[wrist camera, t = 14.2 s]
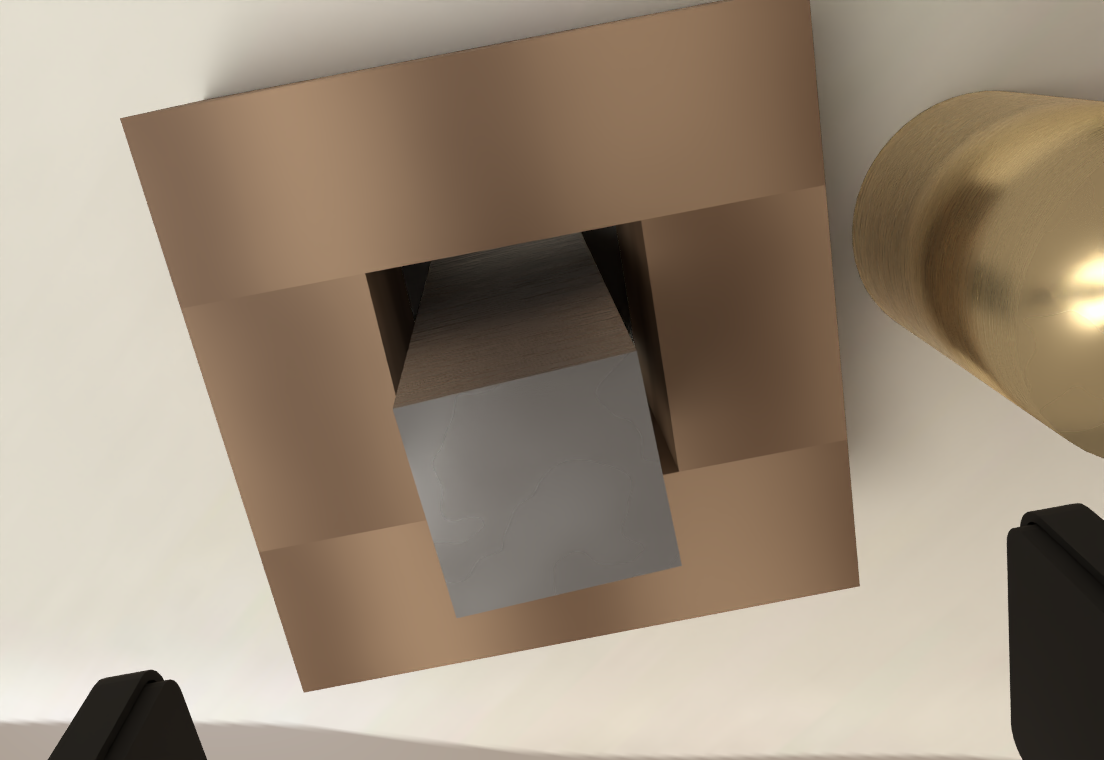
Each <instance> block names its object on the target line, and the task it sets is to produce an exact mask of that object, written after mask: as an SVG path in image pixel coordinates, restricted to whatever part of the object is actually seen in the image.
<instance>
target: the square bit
mask: <svg viewBox="0 0 1104 760" xmlns="http://www.w3.org/2000/svg"><path fill="white" fill-rule="evenodd" d="M393 412H394V415H395V419H396V422H397V425H398V429H399V432H400V435H401V438H402V442H403V445H404V448H405V451H406V455H407V458H408V461H409V464H410V468H411V471H412V474H413V478H414V481H415V484H416V487H417V491H418V494H419V497H420V500H421V504H422V507H423V510H424V513H425V517H426V520H427V523H428V526H429V530H430V533H431V536H432V540H433V543H434V546H435V549H436V553H437V556H438V559H439V562H440V566H441V569H442V572H443V575H444V579H445V582H446V585H447V589H448V592H449V595H450V598H451V602H452V605H453V608H454V611H455V615H456V618H461V617H465V616H469V615H473V614H478V613H482V612H486V611H491V610H495V609H499V608H503V607H508V606H512V605H516V604H521V603H525V602H529V601H533V600H538V599H542V598H546V597H551V596H555V595H559V594H564V593H568V592H572V591H576V590H581V589H585V588H589V587H594V586H598V585H602V584H606V583H611V582H615V581H619V580H624V579H628V578H632V577H636V576H641V575H645V574H649V573H654V572H658V571H662V570H666V569H671V568H675V567H679V566H682V564H681V559H680V554H679V549H678V545H677V540H676V535H675V530H674V525H673V521H672V516H671V511H670V506H669V502H668V497H667V492H666V487H665V483H664V478H663V473H662V468H661V464H660V459H659V454H658V449H657V445H656V440H655V435H654V430H653V426H652V421H651V416H650V411H649V407H648V402H647V397H646V392H645V388H644V383H643V378H642V373H641V369H640V364H639V359H638V354H637V350H636V348H635V346H634V344H633V342H632V340H631V338H630V336H629V333H628V331H627V329H626V327H625V325H624V323H623V321H622V319H621V316H620V314H619V312H618V310H617V308H616V306H615V304H614V302H613V300H612V297H611V295H610V293H609V291H608V289H607V287H606V285H605V283H604V280H603V278H602V276H601V274H600V272H599V270H598V268H597V266H596V264H595V261H594V259H593V257H592V255H591V253H590V251H589V249H588V247H587V245H586V242H585V240H584V238H583V236H582V234H581V232H578V233H573V234H567V235H562V236H557V237H552V238H546V239H541V240H536V241H531V242H526V243H520V244H515V245H510V246H505V247H500V248H494V249H489V250H484V251H479V252H473V253H468V254H463V255H458V256H453V257H447V258H442V259H437V260H432V261H431V264H430V268H429V272H428V275H427V279H426V283H425V287H424V291H423V294H422V298H421V302H420V306H419V310H418V314H417V317H416V321H415V325H414V329H413V333H412V336H411V340H410V344H409V348H408V352H407V356H406V359H405V363H404V367H403V371H402V375H401V378H400V382H399V386H398V390H397V394H396V398H395V401H394V405H393Z"/></svg>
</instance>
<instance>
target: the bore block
mask: <svg viewBox="0 0 1104 760" xmlns="http://www.w3.org/2000/svg"><path fill="white" fill-rule="evenodd" d="M120 120H121V123H122V126H123V129H124V132H125V135H126V138H127V142H128V145H129V148H130V151H131V154H132V157H133V160H134V163H135V167H136V170H137V173H138V176H139V179H140V182H141V185H142V188H143V192H144V195H145V198H146V201H147V204H148V207H149V210H150V213H151V216H152V220H153V223H154V226H155V229H156V232H157V235H158V238H159V241H160V245H161V248H162V251H163V254H164V257H165V260H166V263H167V266H168V270H169V273H170V276H171V279H172V282H173V285H174V288H175V291H176V295H177V298H178V301H179V304H180V307H181V310H182V313H183V316H184V320H185V323H186V326H187V329H188V332H189V335H190V338H191V341H192V345H193V348H194V351H195V354H196V357H197V360H198V363H199V366H200V370H201V373H202V376H203V379H204V382H205V385H206V388H207V391H208V395H209V398H210V401H211V404H212V407H213V410H214V413H215V416H216V420H217V423H218V426H219V429H220V432H221V435H222V438H223V441H224V445H225V448H226V451H227V454H228V457H229V460H230V463H231V466H232V470H233V473H234V476H235V479H236V482H237V485H238V488H239V491H240V495H241V498H242V501H243V504H244V507H245V510H246V513H247V516H248V520H249V523H250V526H251V529H252V532H253V535H254V538H255V541H256V545H257V548H258V551H259V554H260V557H261V560H262V563H263V566H264V570H265V573H266V576H267V579H268V582H269V585H270V588H271V591H272V595H273V598H274V601H275V604H276V607H277V610H278V613H279V616H280V620H281V623H282V626H283V629H284V632H285V635H286V638H287V641H288V645H289V648H290V651H291V654H292V657H293V660H294V663H295V666H296V670H297V673H298V676H299V679H300V682H301V685H302V688H303V691H304V692H309V691H314V690H319V689H325V688H330V687H335V686H340V685H346V684H351V683H356V682H361V681H366V680H372V679H377V678H382V677H387V676H393V675H398V674H403V673H408V672H414V671H419V670H424V669H429V668H434V667H440V666H445V665H450V664H455V663H461V662H466V661H471V660H476V659H481V658H487V657H492V656H497V655H502V654H508V653H513V652H518V651H523V650H529V649H534V648H539V647H544V646H549V645H555V644H560V643H565V642H570V641H576V640H581V639H586V638H591V637H596V636H602V635H607V634H612V633H617V632H623V631H628V630H633V629H638V628H644V627H649V626H654V625H659V624H664V623H670V622H675V621H680V620H685V619H691V618H696V617H701V616H706V615H711V614H717V613H722V612H727V611H732V610H738V609H743V608H748V607H753V606H759V605H764V604H769V603H774V602H779V601H785V600H790V599H795V598H800V597H806V596H811V595H816V594H821V593H826V592H832V591H837V590H842V589H847V588H853V587H858V586H860V584H859V572H858V560H857V548H856V537H855V525H854V513H853V502H852V490H851V478H850V467H849V455H848V443H847V432H846V420H845V408H844V396H843V385H842V373H841V361H840V350H839V338H838V326H837V315H836V303H835V291H834V279H833V268H832V256H831V244H830V233H829V221H828V209H827V198H826V186H825V174H824V163H823V151H822V139H821V127H820V116H819V104H818V92H817V81H816V69H815V57H814V46H813V34H812V22H811V10H810V0H723V1H717V2H712V3H707V4H702V5H697V6H691V7H686V8H681V9H676V10H671V11H665V12H660V13H655V14H650V15H645V16H639V17H634V18H629V19H624V20H619V21H613V22H608V23H603V24H598V25H592V26H587V27H582V28H577V29H572V30H566V31H561V32H556V33H551V34H546V35H540V36H535V37H530V38H525V39H520V40H514V41H509V42H504V43H499V44H494V45H488V46H483V47H478V48H473V49H468V50H462V51H457V52H452V53H447V54H442V55H436V56H431V57H426V58H421V59H416V60H410V61H405V62H400V63H395V64H389V65H384V66H379V67H374V68H369V69H363V70H358V71H353V72H348V73H343V74H337V75H332V76H327V77H322V78H317V79H311V80H306V81H301V82H296V83H291V84H285V85H280V86H275V87H270V88H265V89H259V90H254V91H249V92H244V93H239V94H233V95H228V96H223V97H218V98H212V99H207V100H202V101H198V102H193V103H188V104H184V105H179V106H175V107H170V108H166V109H161V110H156V111H152V112H147V113H143V114H138V115H134V116H129V117H125V118H120ZM614 225H616V231H617V238H618V244H619V250H620V256H621V263H622V269H623V275H624V281H625V288H626V294H627V300H628V306H629V313H630V319H631V325H632V331H633V338H634V344H635V348H636V350H637V354H638V359H639V364H640V369H641V373H642V378H643V383H644V388H645V392H646V397H647V402H648V407H649V411H650V416H651V421H652V426H653V430H654V435H655V440H656V445H657V449H658V454H659V459H660V464H661V468H662V473H663V478H664V483H665V487H666V492H667V497H668V502H669V506H670V511H671V516H672V521H673V525H674V530H675V535H676V540H677V545H678V549H679V554H680V559H681V564H682V566H679V567H675V568H671V569H666V570H662V571H658V572H654V573H649V574H645V575H641V576H636V577H632V578H628V579H624V580H619V581H615V582H611V583H606V584H602V585H598V586H594V587H589V588H585V589H581V590H576V591H572V592H568V593H564V594H559V595H555V596H551V597H546V598H542V599H538V600H533V601H529V602H525V603H521V604H516V605H512V606H508V607H503V608H499V609H495V610H491V611H486V612H482V613H478V614H473V615H469V616H465V617H461V618H456V615H455V611H454V608H453V605H452V602H451V598H450V595H449V592H448V589H447V585H446V582H445V579H444V575H443V572H442V569H441V566H440V562H439V559H438V556H437V553H436V549H435V546H434V543H433V540H432V536H431V533H430V530H429V526H428V523H427V520H426V517H425V513H424V510H423V507H422V504H421V500H420V497H419V494H418V491H417V487H416V484H415V481H414V478H413V474H412V471H411V468H410V464H409V461H408V458H407V455H406V451H405V448H404V445H403V442H402V438H401V435H400V432H399V429H398V425H397V422H396V419H395V415H394V412H393V405H394V401H395V398H396V394H397V390H398V386H399V382H400V378H401V375H402V371H403V367H404V363H405V359H406V356H407V352H408V348H409V344H410V340H411V336H412V333H413V329H414V325H415V322H414V318H413V313H412V309H411V305H410V301H409V297H408V292H407V288H406V284H405V280H404V276H403V271H402V267H401V266H406V265H411V264H416V263H421V262H427V261H432V260H437V259H442V258H447V257H453V256H458V255H463V254H468V253H473V252H479V251H484V250H489V249H494V248H500V247H505V246H510V245H515V244H520V243H526V242H531V241H536V240H541V239H546V238H552V237H557V236H562V235H567V234H573V233H578V232H583V231H588V230H593V229H599V228H604V227H609V226H614Z"/></svg>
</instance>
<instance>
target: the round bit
mask: <svg viewBox="0 0 1104 760" xmlns="http://www.w3.org/2000/svg"><path fill="white" fill-rule="evenodd" d="M852 244H853V251H854V258H855V262H856V266H857V269H858V272H859V276H860V278H861V280H862V282H863V284H864V286H865V288H866V290H867V291H868V293H869V294H870V296H871V297H872V299H873V301H874V302H875V303H876V304H877V305H878V306H879V307H880V308H881V310H882V311H883V312H884V313H886V314H887V315H888V316H889V317H890V318H892V319H893V320H894V321H895V322H897V323H898V324H900V325H901V326H903V327H904V328H906V329H907V330H909V331H910V332H911V333H913V334H914V335H916V336H917V337H919V338H920V339H922V340H923V341H924V342H926V343H927V344H929V345H930V346H932V347H933V348H935V349H936V350H938V351H939V352H940V353H942V354H943V355H945V356H946V357H948V358H949V359H951V360H952V361H954V362H955V363H956V364H958V365H959V366H961V367H962V368H964V369H965V370H967V371H968V372H969V373H971V374H972V375H974V376H975V377H977V378H978V379H980V380H981V381H983V382H984V383H985V384H987V385H988V386H990V387H991V388H993V389H994V390H996V391H997V392H998V393H1000V394H1001V395H1003V396H1004V397H1006V398H1007V399H1009V400H1010V401H1012V402H1013V403H1014V404H1016V405H1017V406H1019V407H1020V408H1022V409H1023V410H1025V411H1026V412H1027V413H1029V414H1030V415H1032V416H1033V417H1035V418H1036V419H1038V420H1039V421H1041V422H1042V423H1043V424H1045V425H1046V426H1048V427H1049V428H1051V429H1052V430H1054V431H1055V432H1056V433H1058V434H1059V435H1061V436H1062V437H1064V438H1065V439H1067V440H1068V441H1070V442H1071V443H1073V444H1075V445H1076V446H1078V447H1080V448H1081V449H1083V450H1085V451H1087V452H1089V453H1092V454H1094V455H1097V456H1099V457H1101V458H1104V102H1103V101H1093V100H1083V99H1074V98H1064V97H1054V96H1045V95H1035V94H1025V93H1016V92H1006V91H982V92H974V93H968V94H964V95H960V96H957V97H953V98H950V99H948V100H946V101H943V102H941V103H938V104H936V105H934V106H932V107H931V108H929V109H927V110H925V111H924V112H922V113H920V114H919V115H917V116H916V117H915V118H913V119H912V120H911V121H909V122H908V123H907V124H905V125H904V126H903V127H902V128H901V129H900V130H899V131H898V132H897V133H896V134H895V135H894V136H893V137H892V138H891V139H890V140H889V142H888V143H887V144H886V145H885V146H884V147H883V149H882V150H881V151H880V153H879V154H878V156H877V157H876V159H875V160H874V162H873V163H872V165H871V167H870V169H869V171H868V173H867V175H866V177H865V179H864V181H863V184H862V186H861V189H860V192H859V194H858V197H857V202H856V206H855V210H854V217H853V226H852Z"/></svg>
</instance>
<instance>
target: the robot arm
mask: <svg viewBox="0 0 1104 760" xmlns="http://www.w3.org/2000/svg"><path fill="white" fill-rule="evenodd" d="M1007 570H1008V613H1009V656H1010V699H1011V727H1012V733H1013V738H1014V741H1015V744H1016V747H1017V749H1018V751H1019V754H1020V756H1021V757H1022V759H1023V760H1104V520H1103V519H1101V518H1100V517H1099V516H1098V515H1097V514H1095V513H1094V512H1093V511H1092V510H1091V509H1089V508H1088V507H1086V506H1085V505H1083V504H1080V503H1075V504H1069V505H1064V506H1058V507H1053V508H1047V509H1042V510H1036V511H1030V512H1027V513H1026V514H1024V515H1023V517H1022V520H1021V524H1020V527H1017V528H1012V529H1011V530H1010V531H1009V533H1008V536H1007ZM48 760H207V758H206V756H205V753H204V750H203V748H202V745H201V742H200V740H199V737H198V734H197V732H196V729H195V726H194V724H193V721H192V718H191V716H190V713H189V710H188V708H187V705H186V702H185V700H184V697H183V694H182V692H181V689H180V687H179V685H178V684H177V683H176V682H175V681H174V680H165V681H164V680H163V678H162V676H161V675H160V674H159V673H158V672H157V671H154V670H147V671H141V672H135V673H130V674H124V675H119V676H113V677H108V678H104V679H101V680H99V681H98V682H97V683H96V684H95V685H94V687H93V688H92V690H91V692H90V693H89V695H88V696H87V698H86V700H85V701H84V703H83V704H82V706H81V708H80V709H79V711H78V712H77V714H76V716H75V717H74V719H73V720H72V722H71V724H70V725H69V727H68V728H67V730H66V732H65V733H64V735H63V736H62V738H61V740H60V741H59V743H58V745H57V746H56V747H55V749H54V751H53V752H52V754H51V755H50V757H49V759H48Z"/></svg>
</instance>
